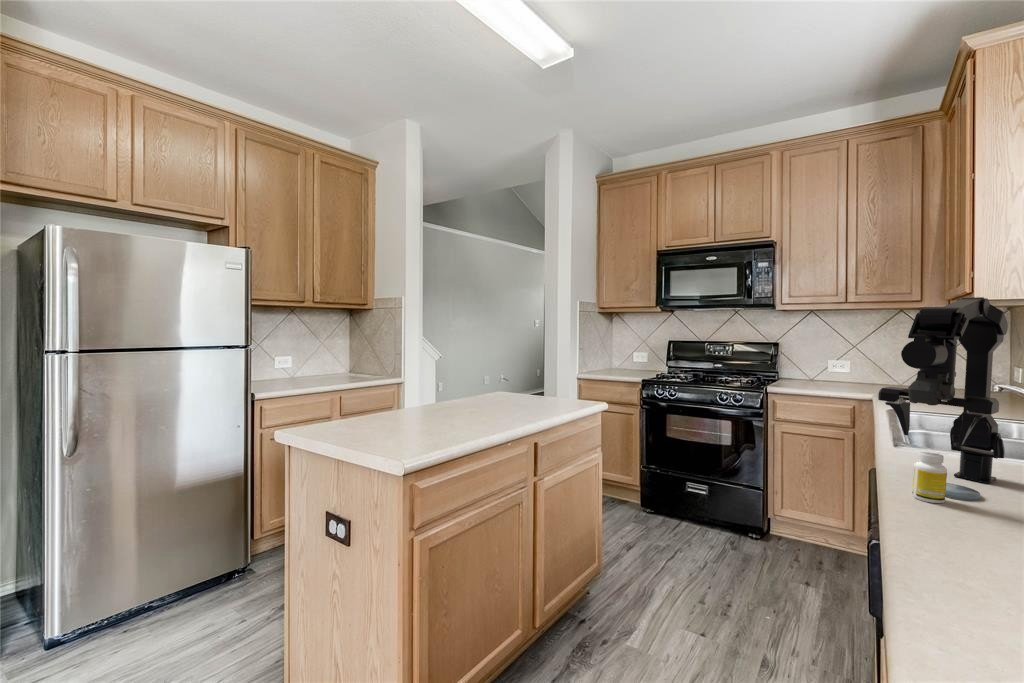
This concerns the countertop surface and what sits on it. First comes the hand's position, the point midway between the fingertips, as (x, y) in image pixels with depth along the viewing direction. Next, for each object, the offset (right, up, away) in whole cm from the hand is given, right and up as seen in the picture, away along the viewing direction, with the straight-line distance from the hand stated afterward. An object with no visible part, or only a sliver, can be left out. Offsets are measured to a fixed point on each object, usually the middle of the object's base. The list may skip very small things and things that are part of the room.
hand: (932, 439), depth 105 cm
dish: (+8, -13, +5) cm, 16 cm away
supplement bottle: (0, -13, +1) cm, 13 cm away
